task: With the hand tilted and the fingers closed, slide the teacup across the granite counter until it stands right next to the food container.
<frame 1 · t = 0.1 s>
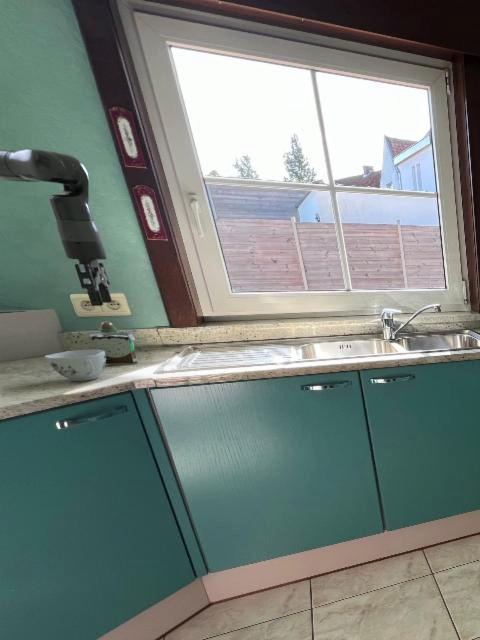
hand: (102, 304, 134), 23 cm above the worktop, tool pointing down, fingers open, 8 cm apart
teacup: (86, 380, 148), on the worktop
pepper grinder: (117, 355, 180), on the worktop
food container: (125, 362, 171), on the worktop
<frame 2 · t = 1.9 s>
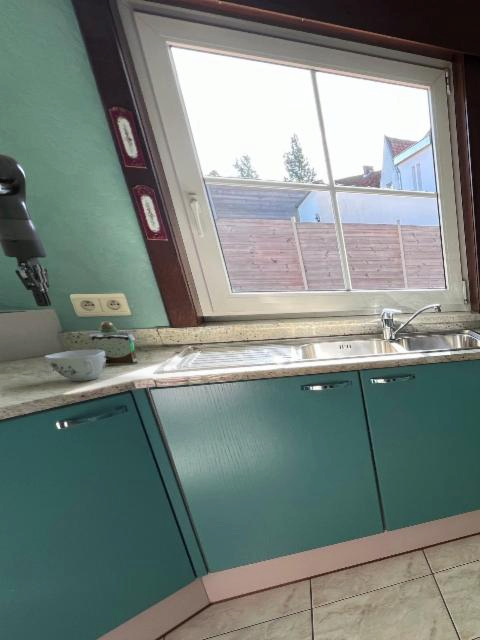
hand: (44, 305, 136), 22 cm above the worktop, tool pointing down, fingers closed
nothing on the worktop moved.
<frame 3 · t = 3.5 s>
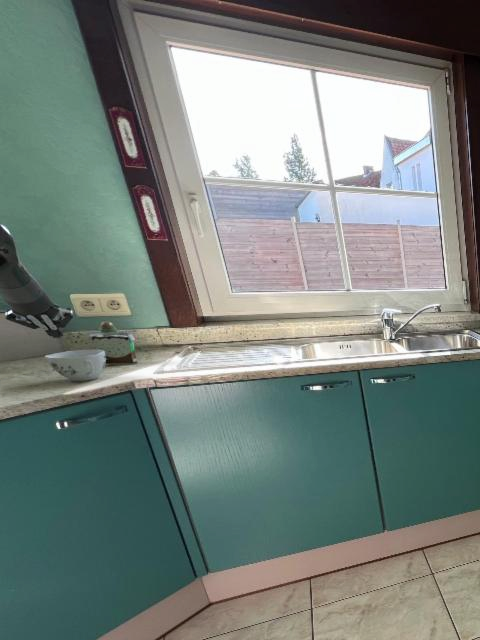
hand: (57, 335, 134), 15 cm above the worktop, tool tilted 45°, fingers closed
nothing on the worktop moved.
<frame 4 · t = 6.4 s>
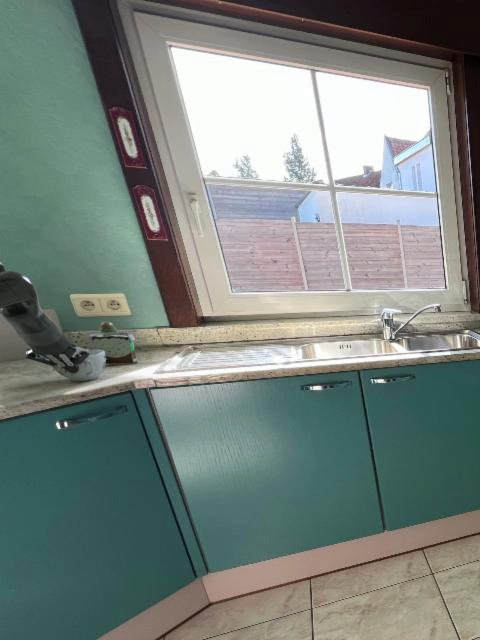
hand: (73, 370, 141), 4 cm above the worktop, tool tilted 45°, fingers closed
teacup: (86, 380, 148), on the worktop, touching gripper
everything else where it was.
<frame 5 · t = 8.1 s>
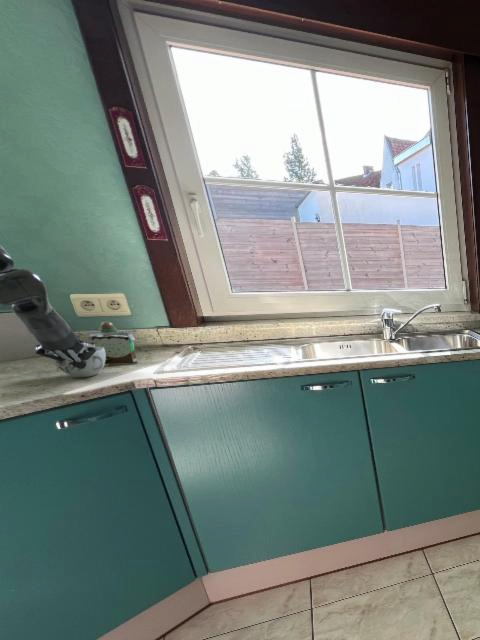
hand: (81, 365, 147), 4 cm above the worktop, tool tilted 45°, fingers closed
teacup: (88, 376, 152), on the worktop, touching gripper
everything else where it was.
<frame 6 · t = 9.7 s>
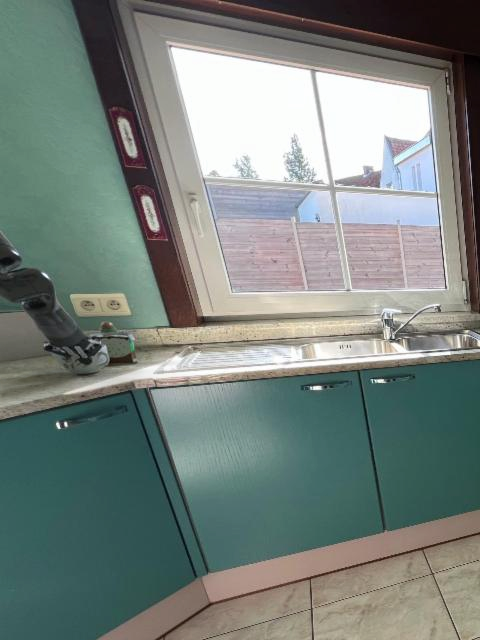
hand: (87, 362, 151), 4 cm above the worktop, tool tilted 45°, fingers closed
teacup: (91, 373, 156), on the worktop, touching gripper
everything else where it was.
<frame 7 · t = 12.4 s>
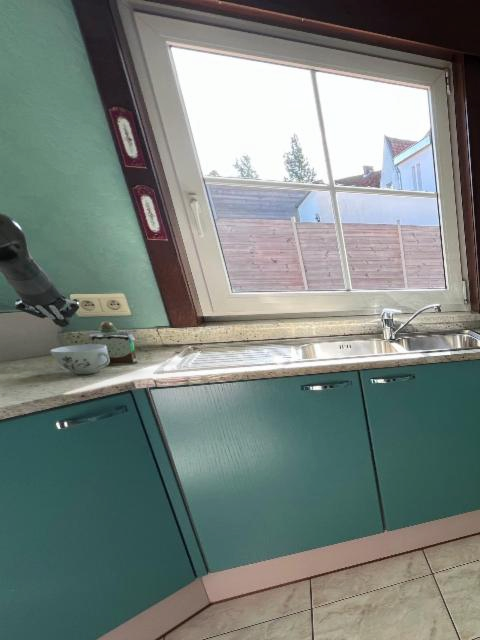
hand: (64, 324, 141), 16 cm above the worktop, tool tilted 45°, fingers closed
teacup: (91, 373, 156), on the worktop
everything else where it was.
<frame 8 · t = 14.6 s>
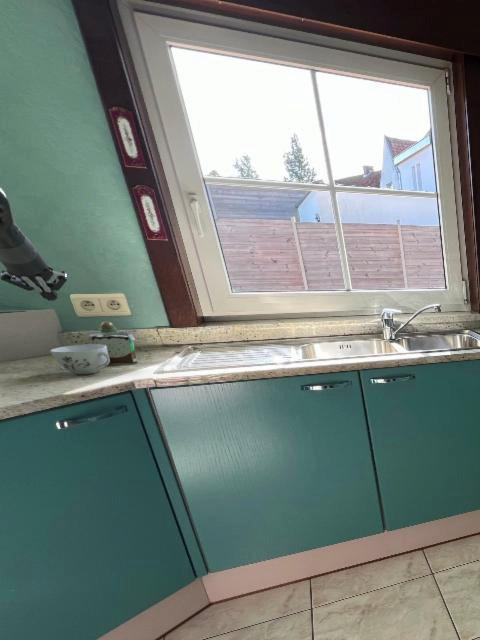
hand: (52, 298, 137), 24 cm above the worktop, tool tilted 45°, fingers closed
nothing on the worktop moved.
at the end: teacup moved 11.3 cm from its start; teacup 16.3 cm from the food container (horizontally); teacup tilted 0° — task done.
